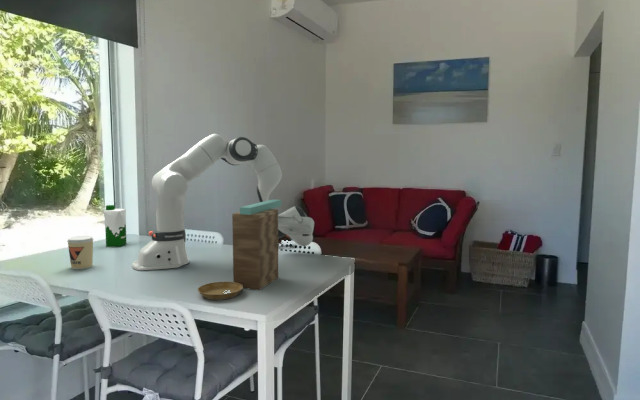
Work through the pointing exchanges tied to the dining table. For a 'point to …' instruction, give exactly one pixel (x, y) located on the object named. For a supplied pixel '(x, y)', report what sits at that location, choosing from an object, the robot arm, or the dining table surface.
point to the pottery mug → (284, 239)
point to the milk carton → (115, 226)
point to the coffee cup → (81, 252)
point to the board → (259, 207)
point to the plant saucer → (220, 290)
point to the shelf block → (255, 248)
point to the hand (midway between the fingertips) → (283, 215)
